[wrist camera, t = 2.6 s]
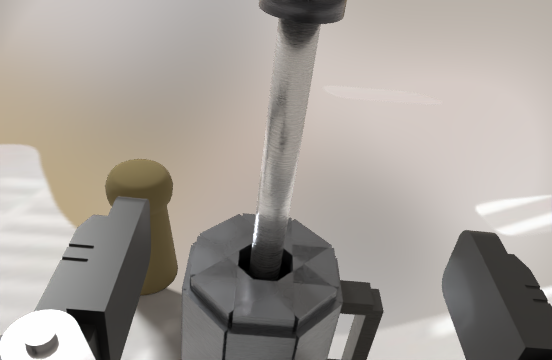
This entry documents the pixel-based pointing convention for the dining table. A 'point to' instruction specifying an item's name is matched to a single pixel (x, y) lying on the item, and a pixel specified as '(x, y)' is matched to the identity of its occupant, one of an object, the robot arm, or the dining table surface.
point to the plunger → (286, 123)
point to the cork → (158, 190)
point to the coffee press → (271, 299)
